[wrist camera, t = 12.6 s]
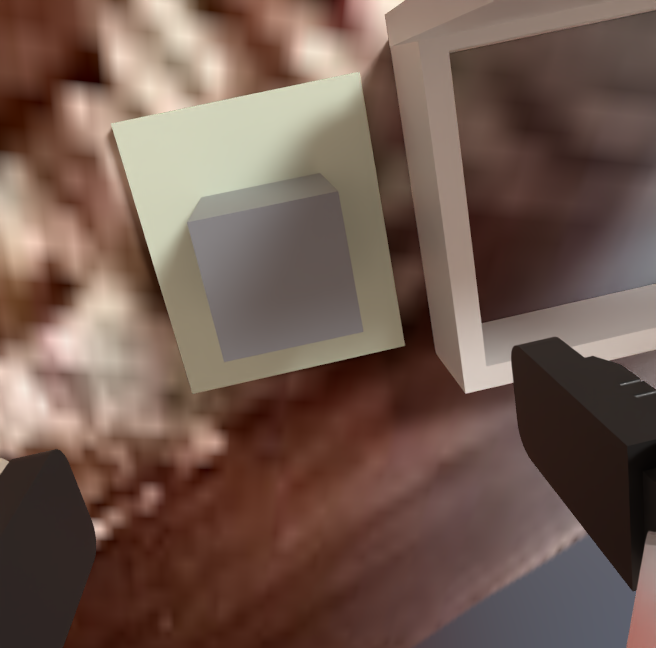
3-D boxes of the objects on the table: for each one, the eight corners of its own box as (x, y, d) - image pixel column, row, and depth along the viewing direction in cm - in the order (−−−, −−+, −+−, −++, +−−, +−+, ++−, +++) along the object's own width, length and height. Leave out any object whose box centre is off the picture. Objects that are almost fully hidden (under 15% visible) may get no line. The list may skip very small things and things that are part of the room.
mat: (357, 72, 26) (359, 71, 25) (402, 341, 30) (404, 345, 29) (113, 123, 25) (110, 123, 25) (193, 388, 29) (192, 394, 29)
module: (319, 173, 26) (338, 191, 20) (341, 286, 28) (363, 331, 22) (201, 197, 26) (187, 222, 20) (230, 309, 28) (224, 362, 22)
